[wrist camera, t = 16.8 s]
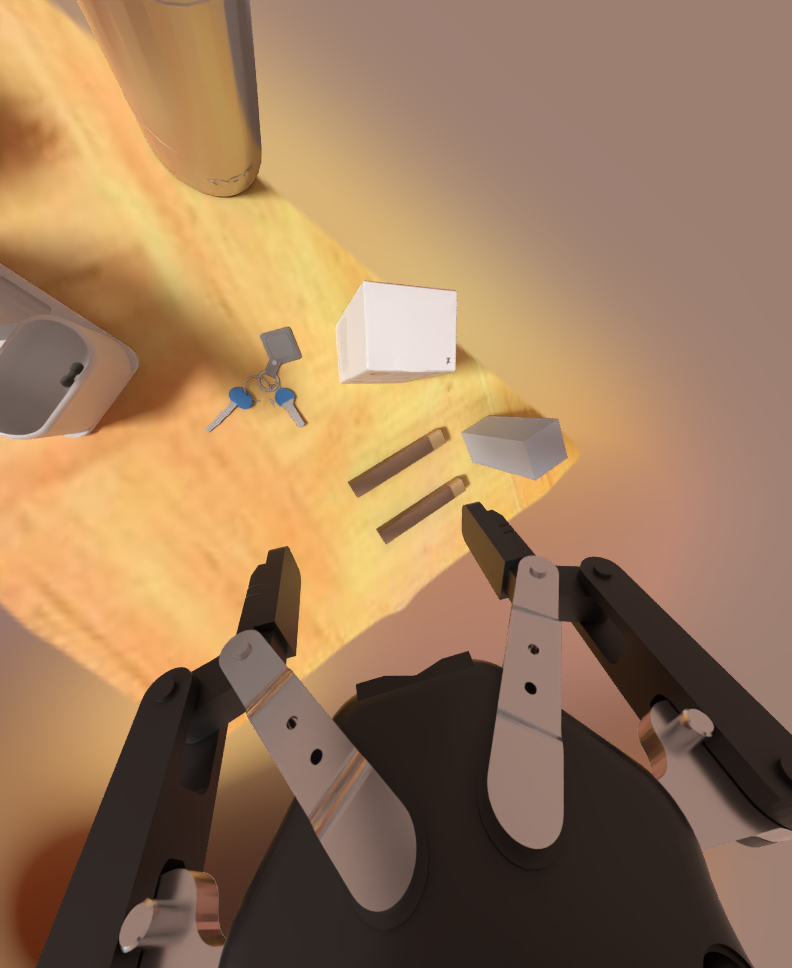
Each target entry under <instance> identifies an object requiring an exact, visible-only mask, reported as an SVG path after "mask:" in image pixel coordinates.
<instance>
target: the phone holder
mask: <svg viewBox="0 0 792 968" xmlns="http://www.w3.org/2000/svg"><path fill="white" fill-rule="evenodd" d="M138 368H139V358H138V356H137V354H136V353H135V352H134V350H132V349H131V348H130V347H129V346H127V345H125V344H124V343H122V342H121V341H119V340H118V339H116V338H115V337H113V336H112V335H110V334H109V333H107V332H105V331H104V330H102V329H101V328H99V327H98V326H96V325H95V324H93V323H92V322H90V321H89V320H87V319H86V318H84V317H82V316H81V315H79V314H78V313H76V312H75V311H73V310H72V309H70V308H69V307H67V306H66V305H64V304H63V303H61V302H59V301H58V300H56V299H55V298H53V297H52V296H50V295H49V294H47V293H46V292H44V291H43V290H41V289H39V288H38V287H36V286H35V285H33V284H32V283H30V282H29V281H27V280H26V279H24V278H23V277H21V276H20V275H18V274H16V273H15V272H13V271H12V270H10V269H9V268H7V267H6V266H4V265H3V264H1V263H0V436H3V437H6V438H10V439H19V440H27V439H36V438H44V437H51V436H59V435H63V436H66V437H82V436H86V435H88V434H90V433H91V432H92V431H93V430H94V428H95V427H96V425H97V424H98V423H99V421H100V420H101V419H102V417H103V416H104V415H105V413H106V412H107V410H108V409H109V408H110V406H111V405H112V404H113V402H114V401H115V400H116V398H117V397H118V395H119V394H120V393H121V391H122V390H123V389H124V387H125V386H126V385H127V383H128V382H129V380H130V379H131V378H132V376H133V375H134V374H135V372H136V371H137V370H138Z"/></svg>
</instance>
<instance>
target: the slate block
mask: <svg viewBox="0 0 792 968" xmlns="http://www.w3.org/2000/svg"><path fill="white" fill-rule="evenodd" d="M461 434H462V437H463V439H464V442H465V444H466V447H467V449H468V452H469V454H470V457H471V460H472V462H474V463H477V464H481V465H484V466H488V467H491V468H494V469H498V470H501V471H505V472H508V473H512V474H515V475H519V476H522V477H525V478H529V479H532V480H537V479H538V478H540V477H541V476H542V475H544V474H545V473H547V472H548V471H550V470H551V469H552V468H554V467H555V466H557V465H558V464H559V463H561V462H562V461H564V460H565V459H567V453H566V449H565V445H564V441H563V437H562V433H561V429H560V424H559V420H558V419H550V418H527V417H504V416H487V417H485V418H484V419H482V420H480V421H479V422H477V423H476V424H474V425H472V426H471V427H469V428H468V429H466V430H464V431H463V432H461Z"/></svg>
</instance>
